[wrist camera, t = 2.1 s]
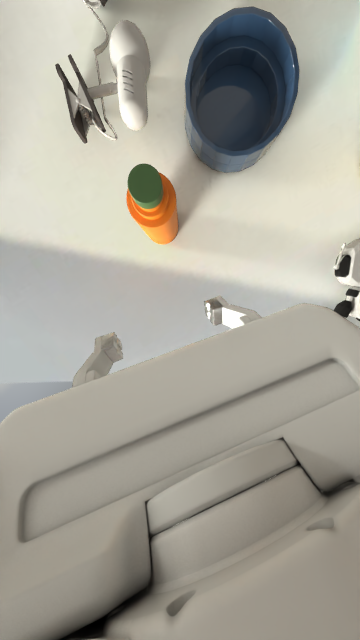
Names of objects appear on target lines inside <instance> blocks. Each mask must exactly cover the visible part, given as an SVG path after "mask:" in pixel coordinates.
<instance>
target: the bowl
mask: <svg viewBox="0 0 360 640" xmlns="http://www.w3.org/2000/svg"><path fill="white" fill-rule="evenodd" d="M298 81H299V65H298V59H297V53H296V47H295V45H294V43H293V41H292V39H291V37H290V35H289V33H288V31H287V29H286V27H285V26H284V25H283V24H282V23H281V22H280V21H279V20H278V19H277V18H276V17H275V16H274V15H273V14H272V13H270V12H267V11H264V10H261V9H259V8H256V7H244V8H235V9H232V10H230V11H228V12H226V13H225V14H223V15H221V16H219V17H218V18H216V19H215V20H214V21H213V22H212V23H211V24H210V25H209V27H208V28H207V29H206V30H205V31H204V32H203V33H202V35H201V36H200V38H199V40H198V42H197V44H196V46H195V48H194V50H193V52H192V55H191V57H190V59H189V64H188V69H187V75H186V80H185V129H186V133H187V136H188V139H189V142H190V145H191V147H192V149H193V150H194V152H195V153H196V155H197V156H198V158H199V159H200V160H201V161H202V162H203V163H205V164H206V165H207V166H209V167H210V168H211V169H214V170H218V171H221V172H224V173H228V172H239V171H242V170H244V169H246V168H248V167H250V166H252V165H254V164H255V163H256V162H257V161H258V160H259V159H260V158H261V157H262V156H264V155H265V153H266V152H267V151H268V149H269V148H270V146H271V145H272V143H273V142H274V140H275V139H276V138H277V136H278V135H279V133H280V132H281V130H282V128H283V127H284V125H285V124H286V122H287V120H288V119H289V117H290V115H291V112H292V109H293V106H294V103H295V100H296V97H297V92H298Z"/></svg>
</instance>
